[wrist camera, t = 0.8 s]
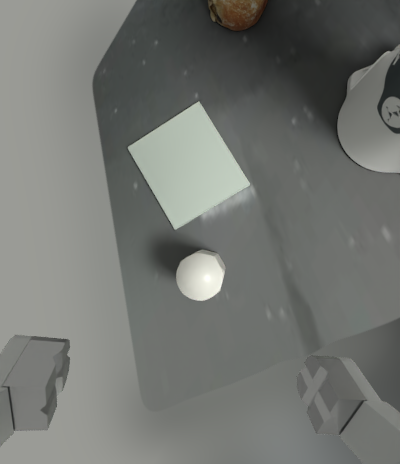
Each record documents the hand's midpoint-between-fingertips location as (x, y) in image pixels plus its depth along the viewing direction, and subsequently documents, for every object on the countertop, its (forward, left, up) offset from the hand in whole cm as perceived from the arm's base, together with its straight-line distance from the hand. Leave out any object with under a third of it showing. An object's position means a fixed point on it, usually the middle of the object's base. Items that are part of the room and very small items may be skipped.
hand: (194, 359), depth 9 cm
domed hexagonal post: (+3, -1, -35) cm, 35 cm away
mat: (-3, -17, -35) cm, 38 cm away
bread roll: (-24, -36, -35) cm, 56 cm away
